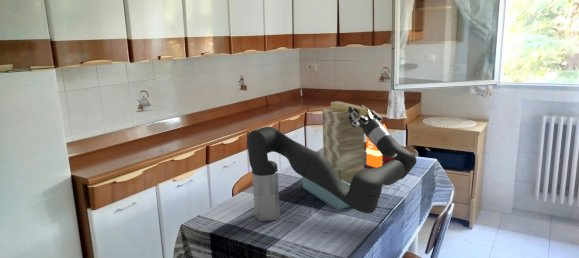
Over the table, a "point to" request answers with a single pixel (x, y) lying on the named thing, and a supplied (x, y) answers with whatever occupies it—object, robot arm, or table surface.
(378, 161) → the orange juice
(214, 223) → the table surface
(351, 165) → the birch stand
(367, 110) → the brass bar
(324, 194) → the open teal box
